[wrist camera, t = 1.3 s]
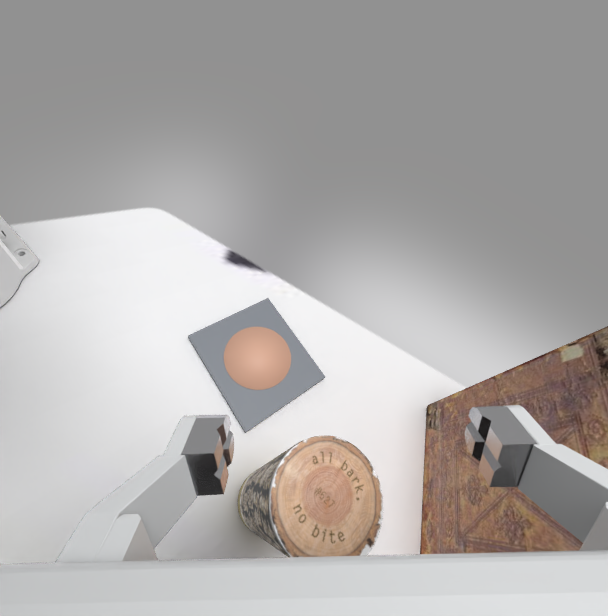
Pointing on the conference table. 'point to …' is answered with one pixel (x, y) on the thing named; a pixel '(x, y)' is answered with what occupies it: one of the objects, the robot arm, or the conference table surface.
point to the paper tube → (315, 500)
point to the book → (465, 468)
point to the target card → (256, 362)
